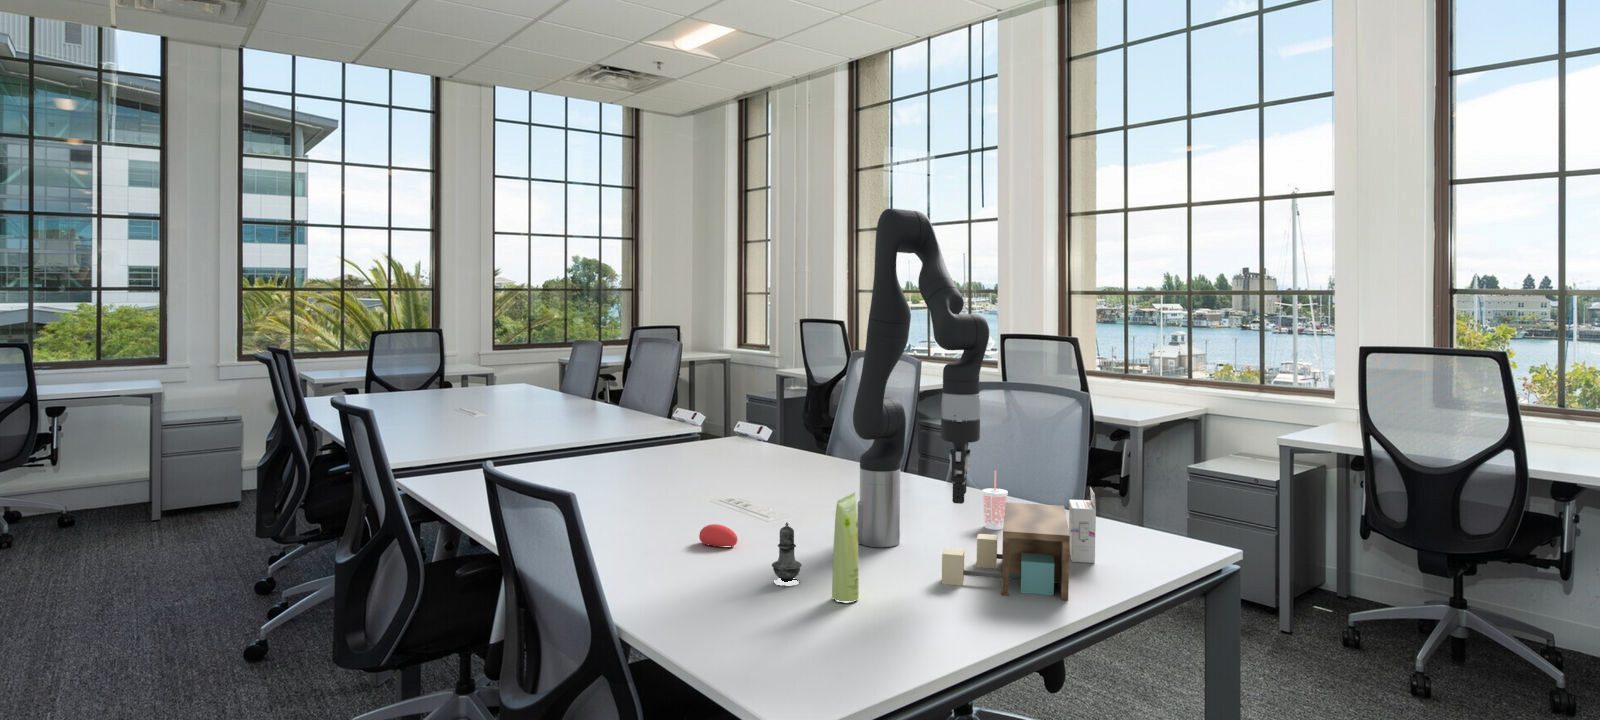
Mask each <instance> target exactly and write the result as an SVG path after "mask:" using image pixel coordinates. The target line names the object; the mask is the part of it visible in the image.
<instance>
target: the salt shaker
mask: <svg viewBox="0 0 1600 720" xmlns="http://www.w3.org/2000/svg"><path fill="white" fill-rule="evenodd" d="M784 525H785V526H783V527H781V528H780V529H779V543H778V544H777V547H778V551H779V552H778V555H779V556H778V559H777V560H776V561H773V562H772V564H771V567H772V568H773V569H772V571H773V572H774V574H775V576H776V577H777V578H781V580H782V581H784V582H788V581H792V580H797V579H798V578H797V579H793V578H796V577H797V576H798V575H799V574H800V571H801V567H802V566H803V565H802V563H801V562H800V561H797V560H796V557H795V548H796V546H797V545H796V543H795V530H794V528H793V527H791V526H789V523H788V522H785V524H784ZM798 580H799V579H798ZM798 580H797V581H798Z"/></svg>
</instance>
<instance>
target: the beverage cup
mask: <svg viewBox="0 0 1600 720" xmlns="http://www.w3.org/2000/svg"><path fill="white" fill-rule="evenodd" d="M993 474H994V475H993V476H994V479H993V481H994V482H993V484H994V485H993V488H990V487H989V488H983V489H982V490H981V492H982V493H981V494H982V495H983V515H984V517H983V520H984V523H983V524H984V527H985V528H986V529H987V530H1003V525H1004V514H1005V503H1006V502H1007V496H1008V493H1009V492H1008V490H1007V489H1003V488H997V470H994V473H993Z"/></svg>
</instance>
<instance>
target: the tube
mask: <svg viewBox="0 0 1600 720" xmlns="http://www.w3.org/2000/svg"><path fill="white" fill-rule="evenodd" d="M836 502H837V503H836V506H835V507H836V509H835V519H834V532H833V533H834V536H833V558H832V584H831V585H832V587H831V588H832V590H831V599H832V598H834V599H836V600H839V601H854V600H857V599H858V598H859V596H860V595H859V593H860V591H859V581H860V580H859V575H860V574H859V571H860V568H859V544H858V528H857V513H858V506H857V497H856V492H855V491H854V492H852V493H850V494H849V495H846V496H844V497H842V498H840V499H838V500H837V501H836ZM858 600H859V599H858ZM858 600H857V601H858Z"/></svg>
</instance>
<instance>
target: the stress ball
mask: <svg viewBox="0 0 1600 720" xmlns="http://www.w3.org/2000/svg"><path fill="white" fill-rule="evenodd" d="M698 537H699V540H700V542H701V543H702V544H704V543H705V544H709V545H715V546H714V547H716V546H733V547H735V546H736V544H737V543H738V540H739V539H738V535H737V534H736V533H735V532H734V530H733V529H731V528H730V527H729V526H728V527H727V525H726V526H725V525H723V524H715V523H714V524H707V525H704V526H703V527H702V529H701V530H700V531H699V534H698ZM705 544H704V545H705ZM709 545H708V546H709ZM734 545H735V546H734Z"/></svg>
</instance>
